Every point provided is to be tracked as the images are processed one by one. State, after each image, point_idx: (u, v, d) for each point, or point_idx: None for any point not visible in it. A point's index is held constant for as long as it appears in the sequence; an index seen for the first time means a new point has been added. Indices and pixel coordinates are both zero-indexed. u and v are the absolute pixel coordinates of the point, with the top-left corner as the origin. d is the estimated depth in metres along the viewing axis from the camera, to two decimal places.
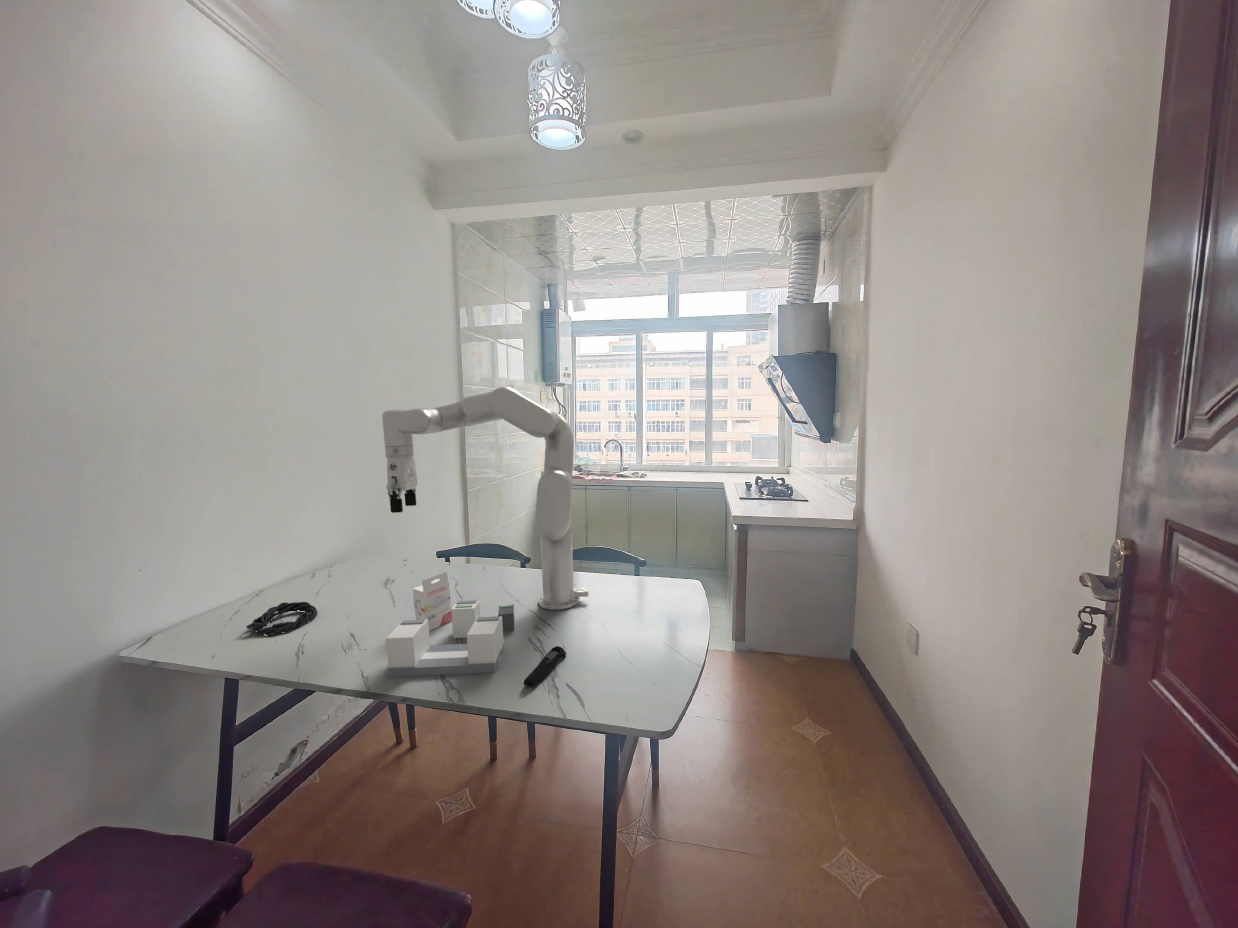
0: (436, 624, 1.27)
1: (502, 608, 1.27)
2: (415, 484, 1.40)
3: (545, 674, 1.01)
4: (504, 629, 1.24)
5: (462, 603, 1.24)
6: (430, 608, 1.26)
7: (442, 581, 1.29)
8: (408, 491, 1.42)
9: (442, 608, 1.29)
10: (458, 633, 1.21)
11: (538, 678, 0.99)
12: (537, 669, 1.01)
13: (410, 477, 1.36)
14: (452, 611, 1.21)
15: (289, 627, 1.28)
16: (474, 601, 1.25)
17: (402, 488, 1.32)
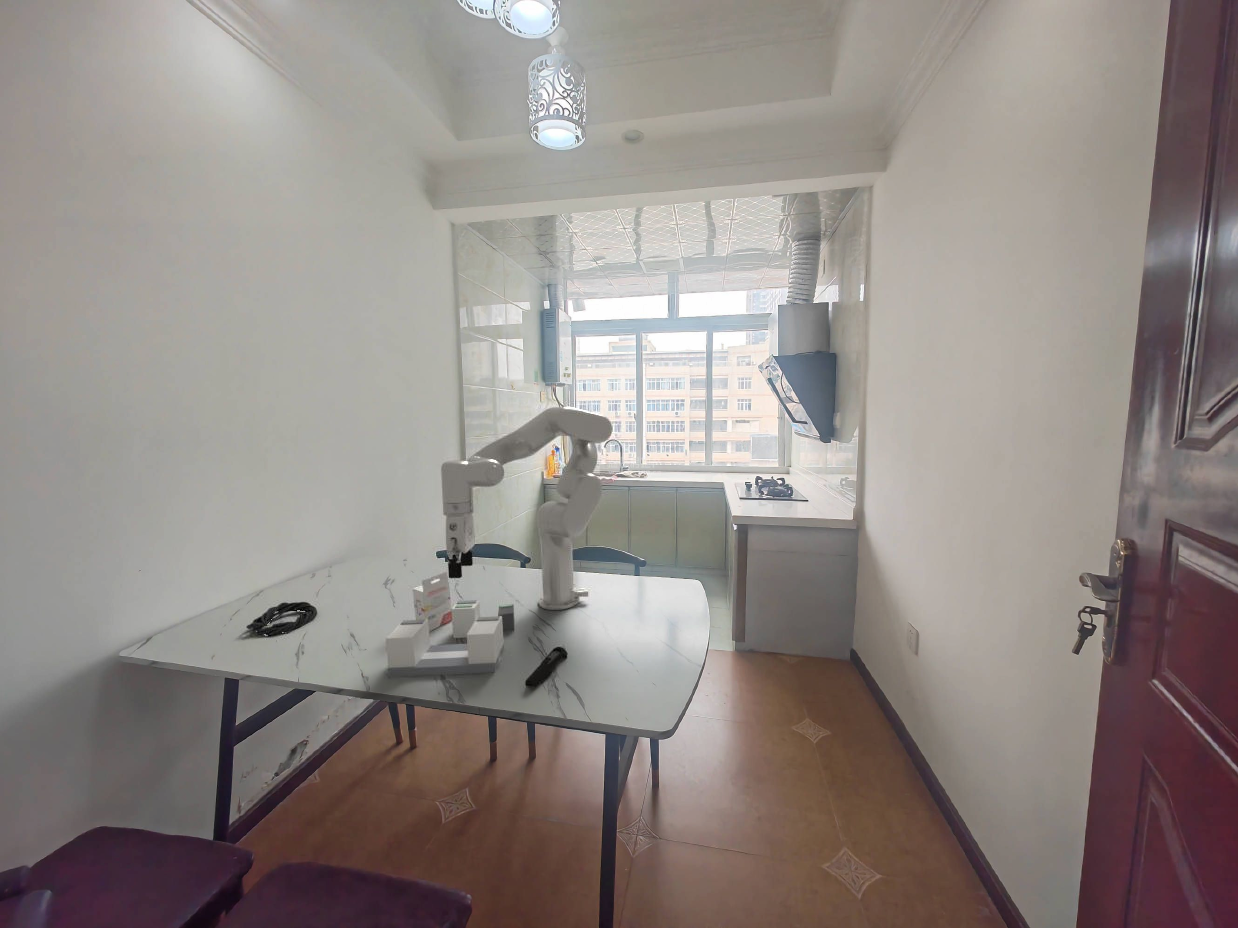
0: (436, 624, 1.27)
1: (502, 608, 1.27)
2: (473, 543, 1.24)
3: (547, 675, 1.01)
4: (504, 629, 1.24)
5: (462, 603, 1.24)
6: (430, 608, 1.26)
7: (442, 581, 1.29)
8: None
9: (442, 608, 1.29)
10: (458, 633, 1.21)
11: (539, 678, 0.99)
12: (538, 669, 1.01)
13: (469, 536, 1.21)
14: (452, 611, 1.21)
15: (289, 627, 1.28)
16: (474, 601, 1.25)
17: (462, 551, 1.16)
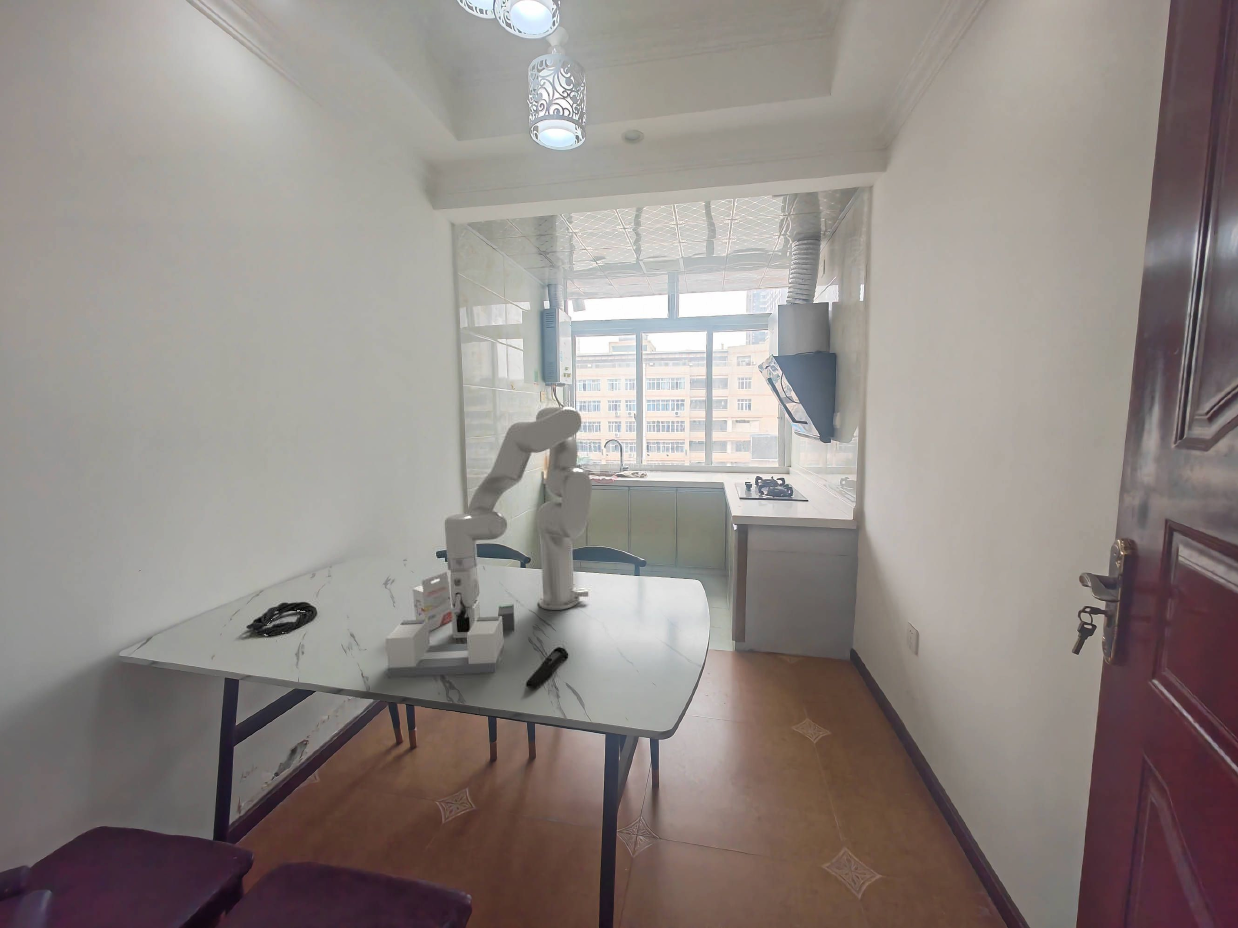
0: (436, 624, 1.27)
1: (502, 608, 1.27)
2: (478, 593, 1.26)
3: (548, 675, 1.01)
4: (504, 629, 1.24)
5: None
6: (430, 608, 1.26)
7: (442, 581, 1.29)
8: None
9: (442, 608, 1.29)
10: (458, 633, 1.21)
11: (540, 679, 0.99)
12: (540, 670, 1.00)
13: (474, 589, 1.22)
14: (452, 611, 1.21)
15: (289, 627, 1.28)
16: None
17: (467, 605, 1.18)
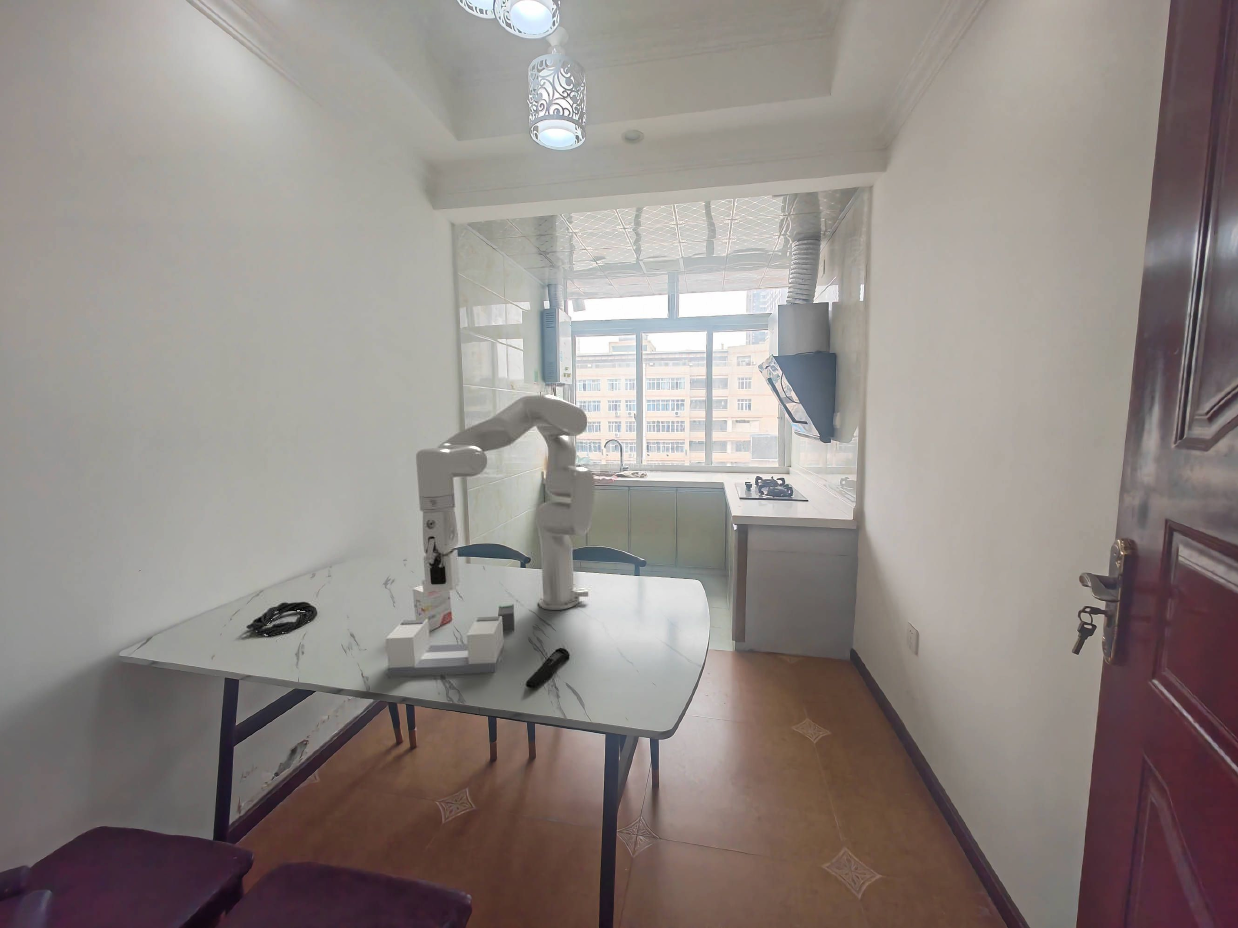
0: (436, 624, 1.27)
1: (502, 608, 1.27)
2: (456, 542, 1.09)
3: (548, 676, 1.01)
4: (504, 629, 1.24)
5: (437, 552, 1.07)
6: (430, 608, 1.26)
7: None
8: None
9: (442, 608, 1.29)
10: (431, 585, 1.04)
11: (540, 679, 0.99)
12: (540, 670, 1.00)
13: (451, 535, 1.05)
14: (424, 560, 1.04)
15: (289, 627, 1.28)
16: (451, 550, 1.08)
17: (442, 551, 1.01)
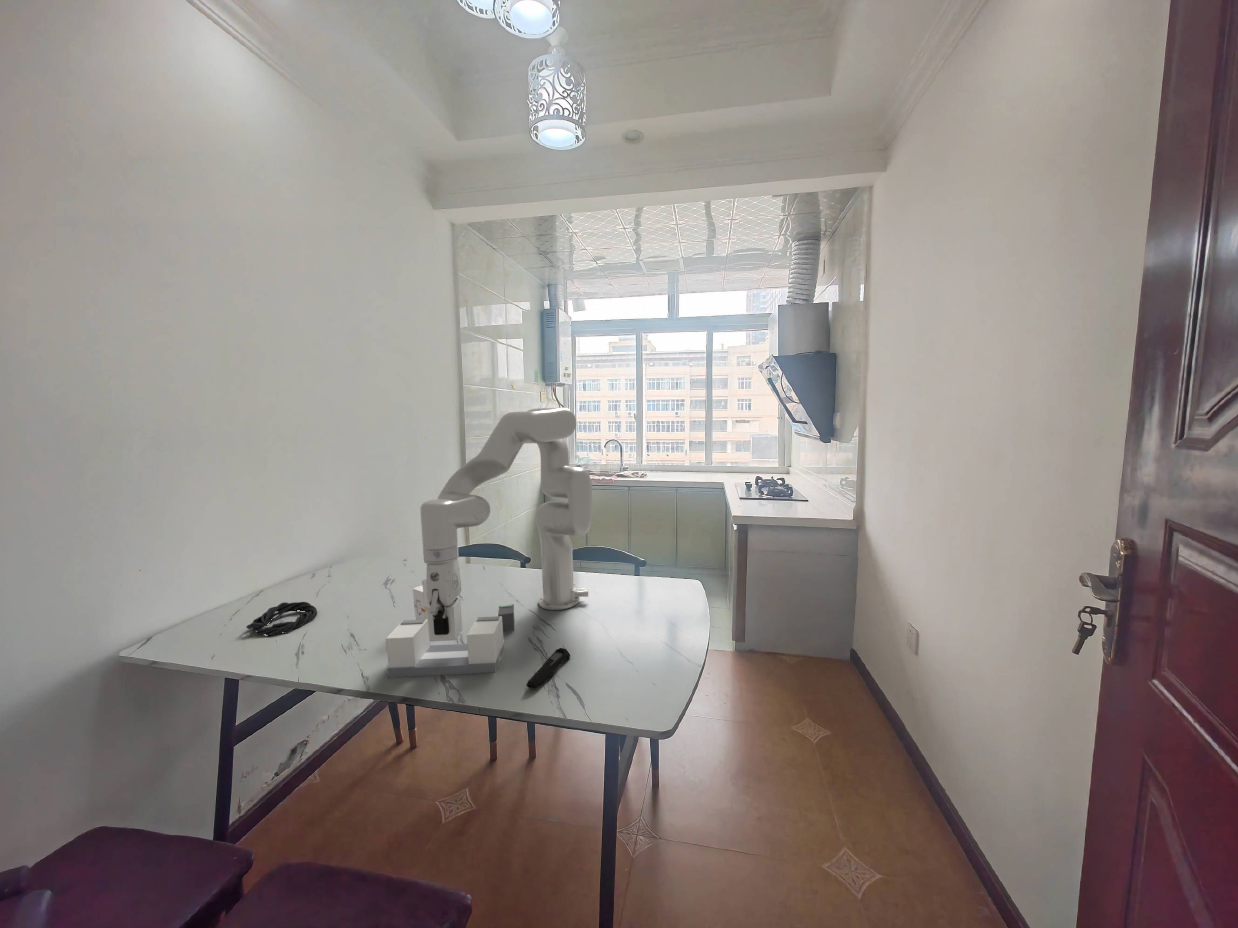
0: None
1: (502, 608, 1.27)
2: (459, 591, 1.10)
3: (549, 676, 1.01)
4: (504, 629, 1.24)
5: None
6: None
7: None
8: None
9: None
10: (434, 635, 1.06)
11: (541, 680, 0.99)
12: (540, 671, 1.00)
13: (454, 585, 1.07)
14: (428, 610, 1.05)
15: (289, 627, 1.28)
16: None
17: (446, 603, 1.02)
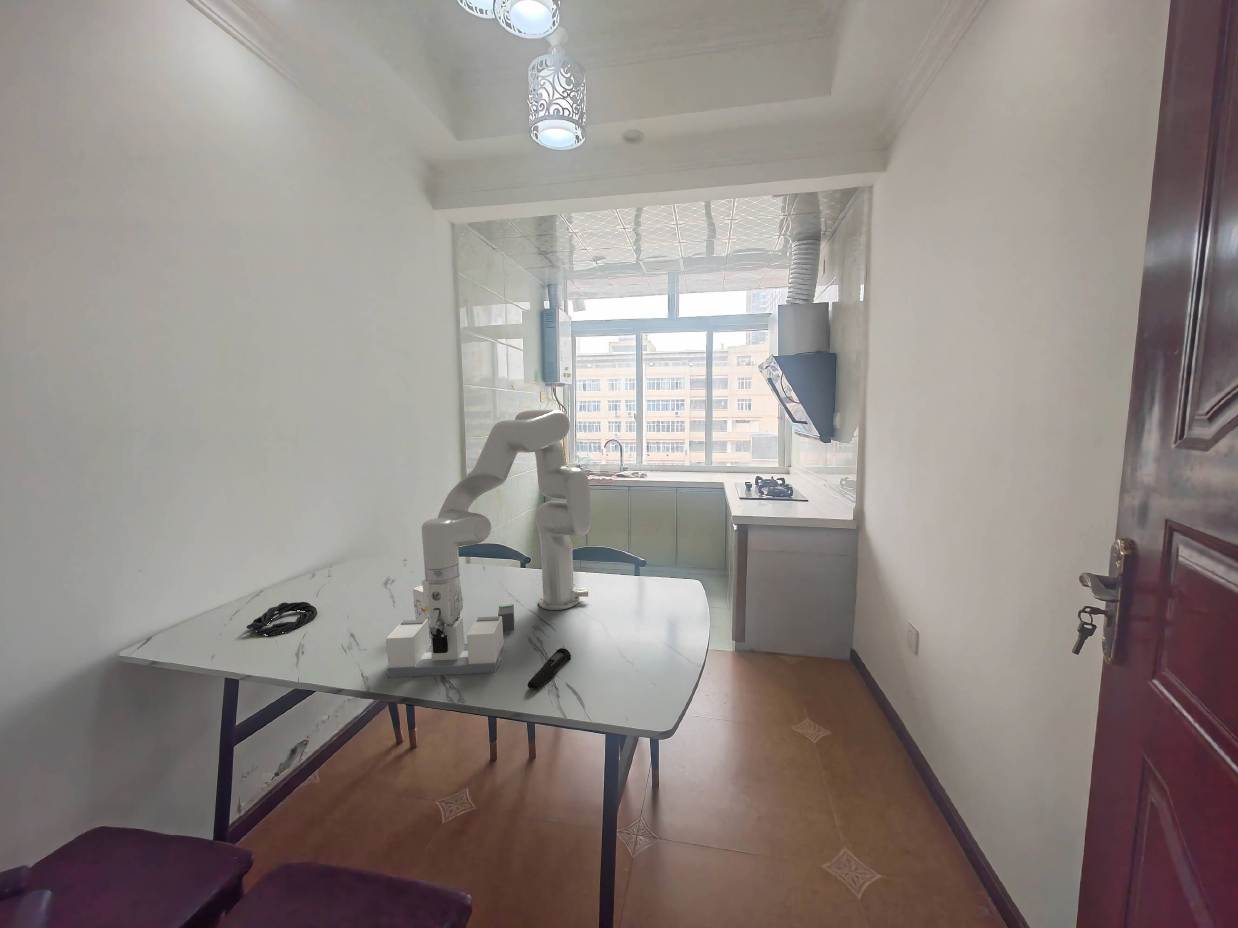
0: None
1: (502, 608, 1.27)
2: (461, 608, 1.11)
3: (549, 677, 1.01)
4: (504, 629, 1.24)
5: None
6: None
7: None
8: None
9: None
10: (437, 655, 1.06)
11: (542, 680, 0.98)
12: (541, 671, 1.00)
13: (456, 603, 1.07)
14: None
15: (289, 627, 1.28)
16: (456, 618, 1.10)
17: (447, 622, 1.03)
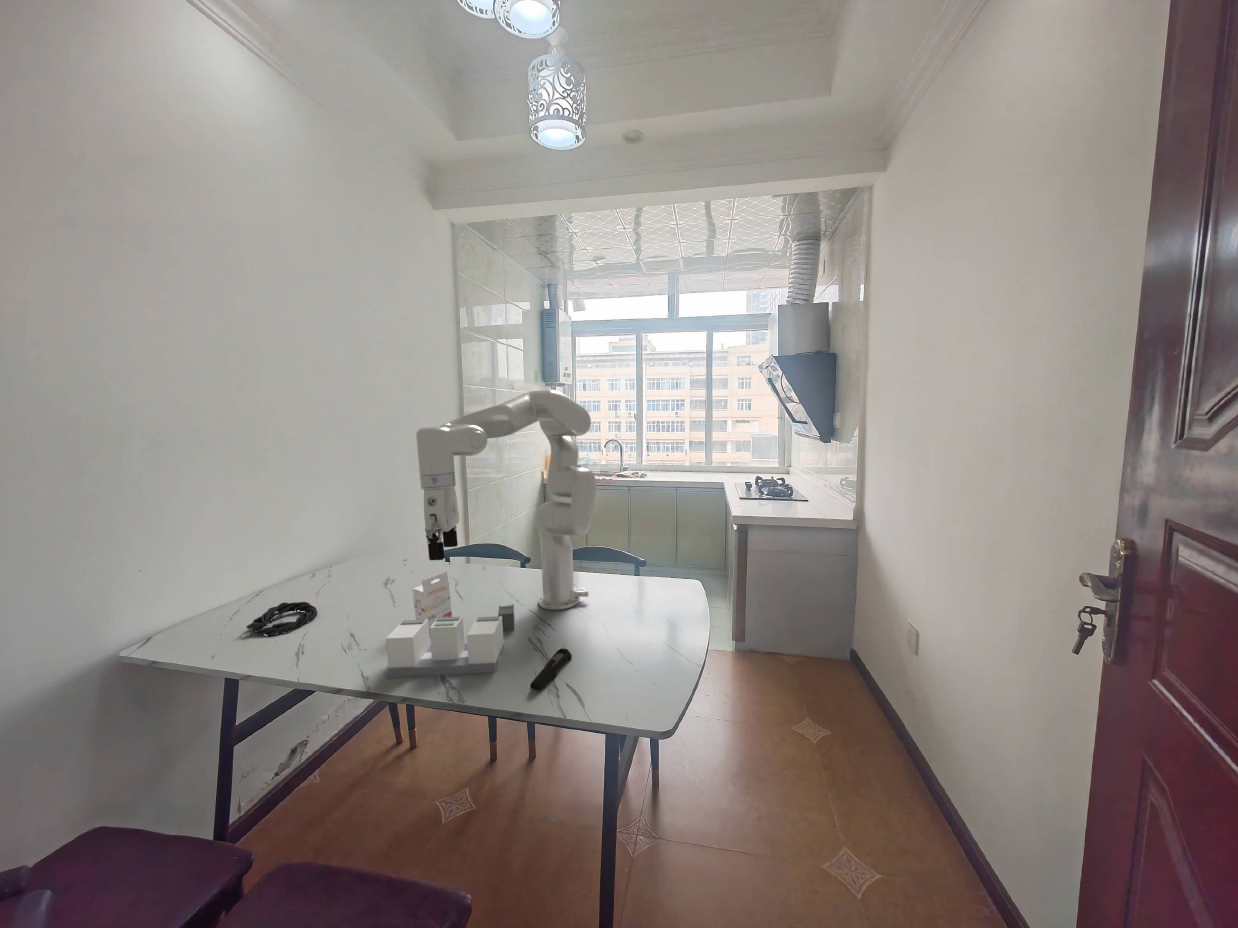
0: None
1: (502, 608, 1.27)
2: (457, 520, 1.10)
3: (552, 677, 1.00)
4: (504, 629, 1.24)
5: (443, 620, 1.09)
6: (430, 608, 1.26)
7: (442, 581, 1.29)
8: None
9: (442, 608, 1.29)
10: (437, 655, 1.06)
11: (544, 680, 0.98)
12: (543, 672, 1.00)
13: (452, 513, 1.06)
14: (431, 630, 1.06)
15: (289, 627, 1.28)
16: (456, 618, 1.10)
17: (444, 529, 1.02)
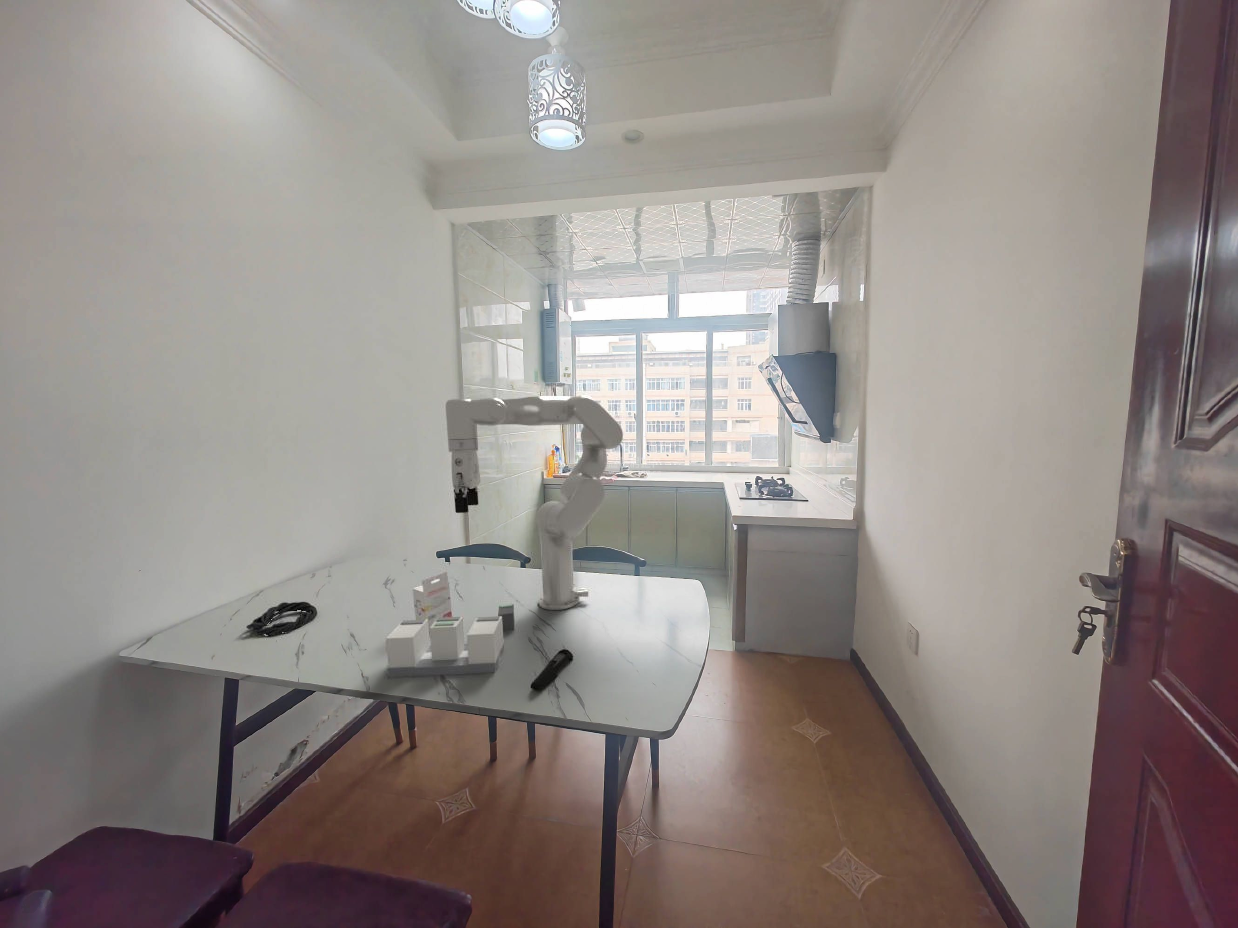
0: None
1: (502, 608, 1.27)
2: (478, 481, 1.26)
3: (552, 678, 1.00)
4: (504, 629, 1.24)
5: (443, 620, 1.09)
6: (430, 608, 1.26)
7: (442, 581, 1.29)
8: (470, 489, 1.29)
9: (442, 608, 1.29)
10: (437, 655, 1.06)
11: (545, 681, 0.98)
12: (544, 672, 0.99)
13: (475, 473, 1.23)
14: (431, 630, 1.06)
15: (289, 627, 1.28)
16: (456, 618, 1.10)
17: (468, 486, 1.19)
